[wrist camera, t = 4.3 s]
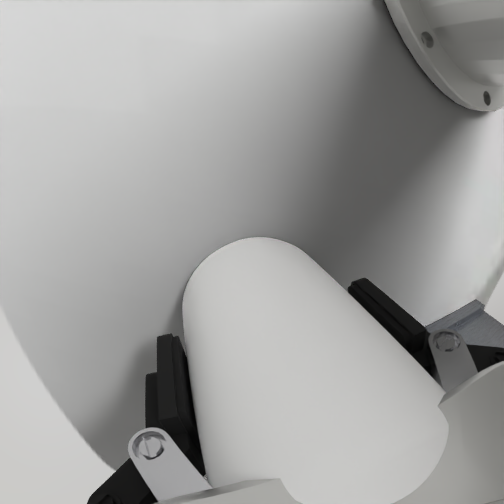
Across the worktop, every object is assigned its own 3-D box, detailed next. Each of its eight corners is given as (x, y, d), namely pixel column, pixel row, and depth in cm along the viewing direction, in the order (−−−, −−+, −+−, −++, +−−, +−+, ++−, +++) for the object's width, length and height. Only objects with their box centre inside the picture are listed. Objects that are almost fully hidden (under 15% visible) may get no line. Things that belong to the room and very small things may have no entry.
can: (341, 270, 15) (529, 449, 4) (270, 368, 16) (368, 569, 6) (228, 205, 13) (451, 504, 2) (157, 329, 14) (187, 610, 3)
